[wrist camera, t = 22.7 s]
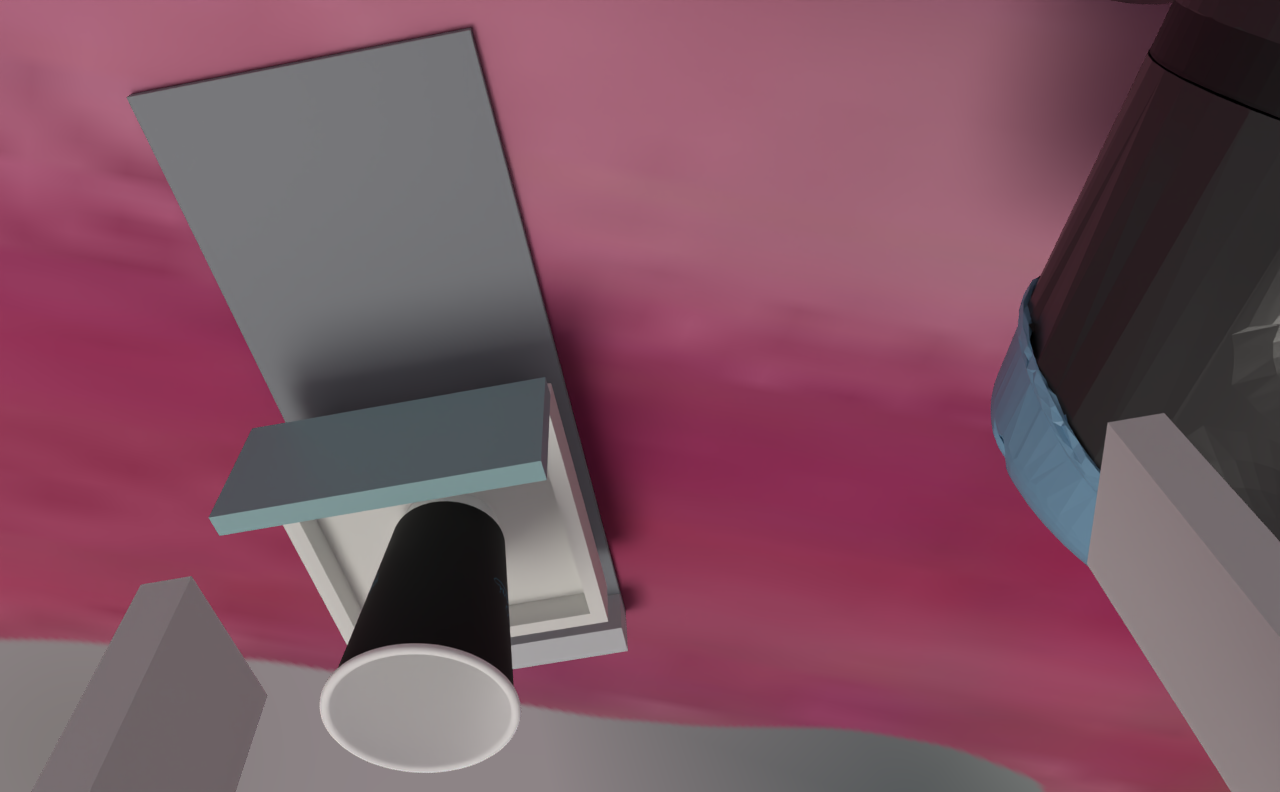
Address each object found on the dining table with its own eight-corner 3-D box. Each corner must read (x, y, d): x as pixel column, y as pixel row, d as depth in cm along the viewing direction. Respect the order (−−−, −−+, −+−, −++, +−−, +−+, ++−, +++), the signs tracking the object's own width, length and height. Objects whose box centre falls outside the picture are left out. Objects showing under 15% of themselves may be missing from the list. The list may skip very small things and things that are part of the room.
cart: (547, 342, 44) (540, 460, 36) (606, 560, 52) (610, 693, 45) (270, 391, 44) (208, 517, 37) (371, 598, 53) (338, 735, 45)
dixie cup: (336, 509, 45) (275, 698, 36) (469, 440, 43) (441, 621, 34) (435, 604, 49) (403, 796, 40) (562, 545, 47) (558, 732, 38)
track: (471, 27, 36) (463, 47, 34) (625, 611, 56) (627, 650, 53) (130, 94, 37) (98, 118, 35) (399, 647, 56) (391, 688, 54)
